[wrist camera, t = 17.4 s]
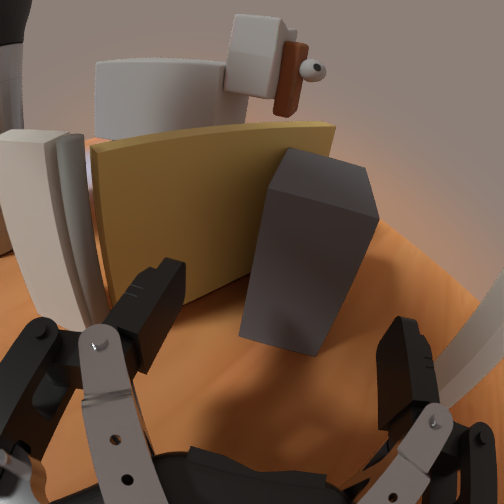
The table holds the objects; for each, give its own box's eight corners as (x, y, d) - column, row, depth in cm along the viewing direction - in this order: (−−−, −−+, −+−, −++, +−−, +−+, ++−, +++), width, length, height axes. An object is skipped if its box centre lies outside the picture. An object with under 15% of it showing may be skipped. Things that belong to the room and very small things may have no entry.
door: (123, 332, 17) (97, 153, 11) (104, 302, 19) (80, 136, 12) (303, 246, 27) (336, 126, 21) (279, 229, 29) (305, 114, 22)
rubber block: (238, 336, 19) (267, 187, 13) (262, 269, 24) (288, 147, 19) (315, 356, 18) (379, 219, 12) (323, 285, 24) (365, 167, 18)
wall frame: (37, 316, 17) (-15, 141, 10) (53, 297, 18) (14, 128, 11) (426, 426, 14) (562, 281, 7) (424, 400, 16) (542, 253, 9)
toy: (288, 209, 33) (329, 25, 22) (95, 159, 38) (99, 20, 26) (304, 177, 42) (336, 38, 30) (139, 139, 46) (148, 22, 35)
